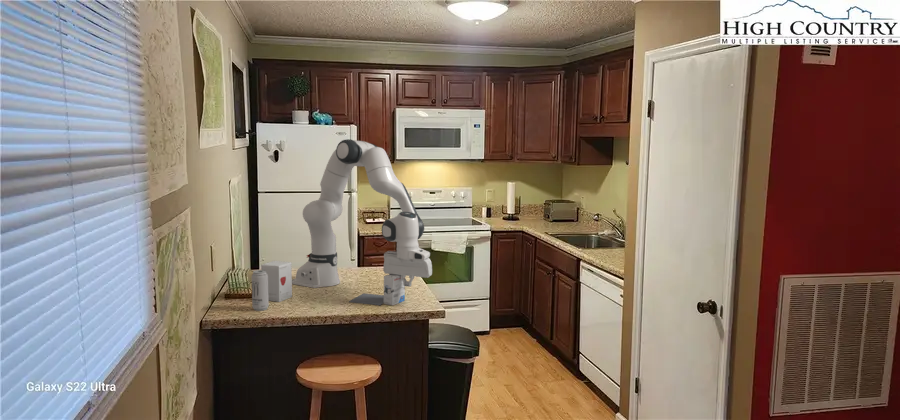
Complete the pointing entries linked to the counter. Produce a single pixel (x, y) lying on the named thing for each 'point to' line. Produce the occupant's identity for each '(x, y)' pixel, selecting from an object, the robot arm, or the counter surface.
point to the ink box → (393, 289)
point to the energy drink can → (260, 290)
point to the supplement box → (278, 280)
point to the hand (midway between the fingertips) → (407, 286)
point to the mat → (369, 299)
